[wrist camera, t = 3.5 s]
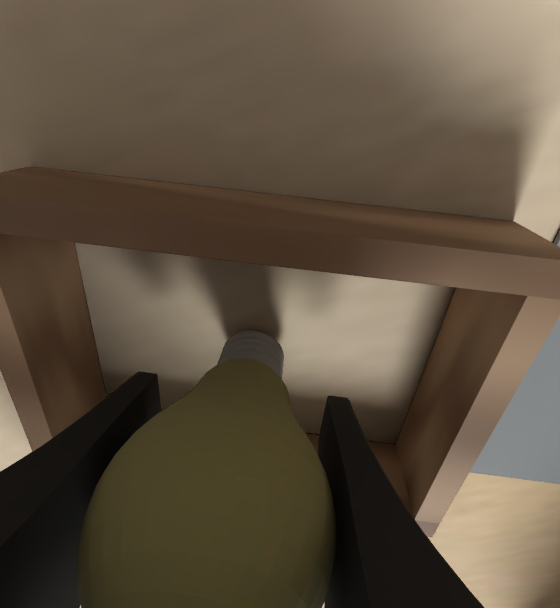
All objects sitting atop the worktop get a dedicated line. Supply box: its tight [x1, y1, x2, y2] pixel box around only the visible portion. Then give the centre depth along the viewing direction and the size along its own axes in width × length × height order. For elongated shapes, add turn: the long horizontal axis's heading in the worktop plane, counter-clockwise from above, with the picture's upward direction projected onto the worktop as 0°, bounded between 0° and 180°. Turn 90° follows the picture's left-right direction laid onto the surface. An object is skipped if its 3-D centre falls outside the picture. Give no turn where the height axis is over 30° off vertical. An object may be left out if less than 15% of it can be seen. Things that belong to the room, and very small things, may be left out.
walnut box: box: [0, 167, 560, 537], centre depth 13 cm, size 12×16×4 cm
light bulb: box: [77, 330, 336, 608], centre depth 10 cm, size 6×6×10 cm
